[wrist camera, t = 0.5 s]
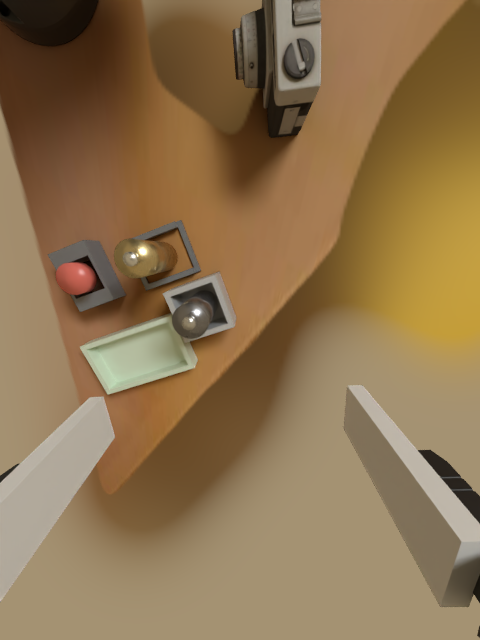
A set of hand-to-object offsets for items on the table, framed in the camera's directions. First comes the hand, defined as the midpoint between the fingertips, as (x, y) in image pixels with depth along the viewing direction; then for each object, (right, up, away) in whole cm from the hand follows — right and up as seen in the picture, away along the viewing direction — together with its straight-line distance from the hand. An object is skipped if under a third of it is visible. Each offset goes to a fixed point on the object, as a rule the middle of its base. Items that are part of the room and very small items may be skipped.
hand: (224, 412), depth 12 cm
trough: (-16, 0, +28) cm, 32 cm away
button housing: (-22, +12, +24) cm, 35 cm away
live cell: (-11, +15, +23) cm, 30 cm away
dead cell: (-5, +8, +25) cm, 26 cm away
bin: (-5, +8, +25) cm, 27 cm away
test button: (-22, +11, +21) cm, 33 cm away
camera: (+4, +36, +17) cm, 40 cm away
